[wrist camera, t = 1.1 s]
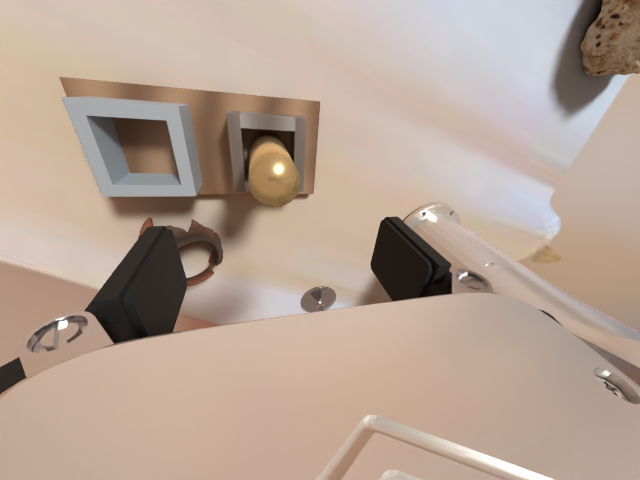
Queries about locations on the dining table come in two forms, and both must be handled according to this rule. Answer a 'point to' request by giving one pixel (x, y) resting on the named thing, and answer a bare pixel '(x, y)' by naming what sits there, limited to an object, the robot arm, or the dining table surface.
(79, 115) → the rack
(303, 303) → the wine glass
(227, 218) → the dining table surface
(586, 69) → the rock
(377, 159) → the dining table surface
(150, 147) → the tool board
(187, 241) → the pottery mug
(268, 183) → the brass cylinder
